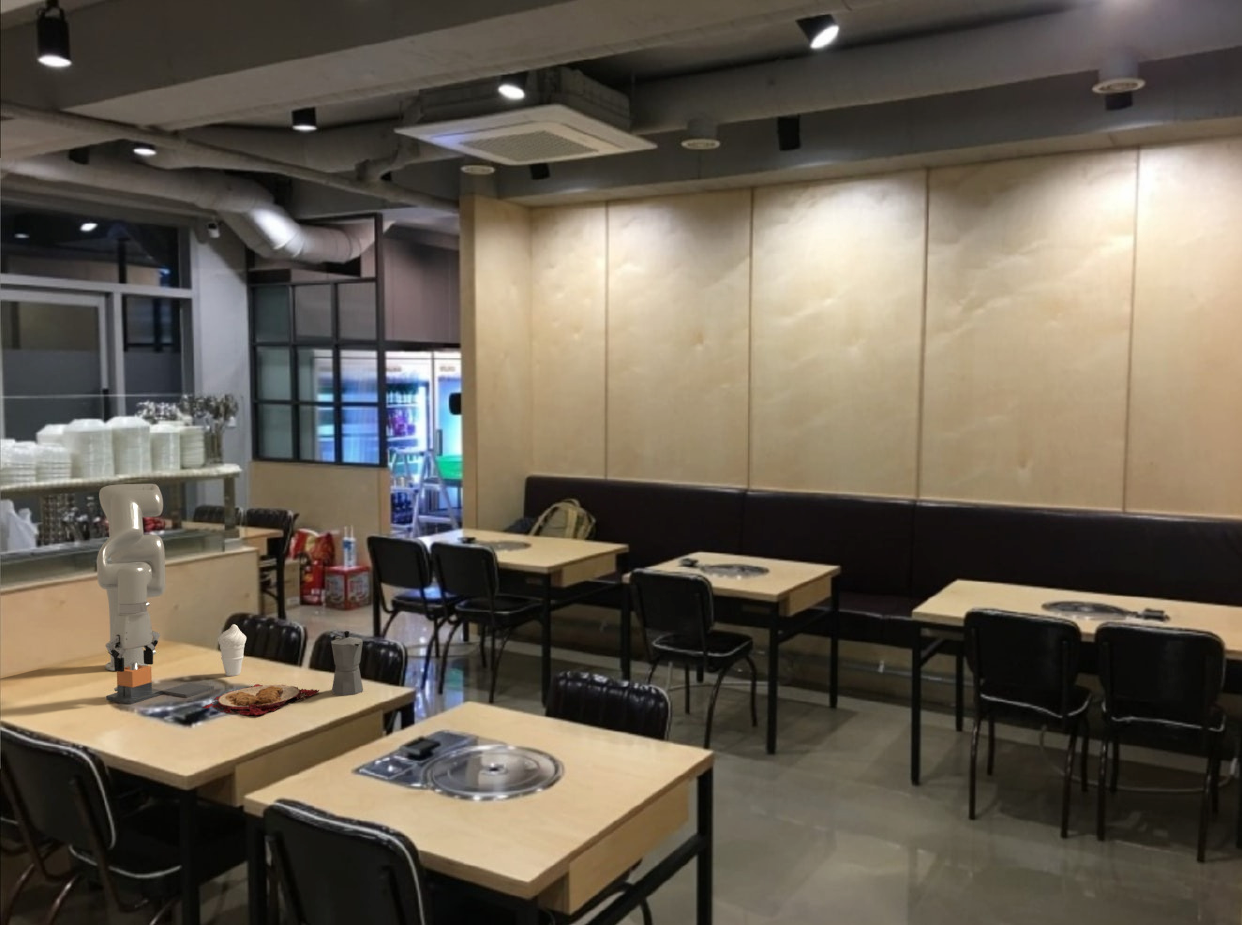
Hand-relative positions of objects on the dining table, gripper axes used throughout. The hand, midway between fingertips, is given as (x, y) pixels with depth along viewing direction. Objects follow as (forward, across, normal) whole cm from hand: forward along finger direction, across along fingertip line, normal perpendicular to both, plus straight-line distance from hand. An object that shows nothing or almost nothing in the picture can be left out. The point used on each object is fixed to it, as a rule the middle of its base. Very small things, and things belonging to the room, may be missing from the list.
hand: (134, 667), depth 289 cm
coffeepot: (+10, -32, +50) cm, 60 cm away
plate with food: (+10, -12, +34) cm, 38 cm away
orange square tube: (+5, 0, -1) cm, 5 cm away
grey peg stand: (+9, 0, -1) cm, 9 cm away
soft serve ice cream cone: (+9, -32, +5) cm, 33 cm away
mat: (+9, -12, +8) cm, 17 cm away
